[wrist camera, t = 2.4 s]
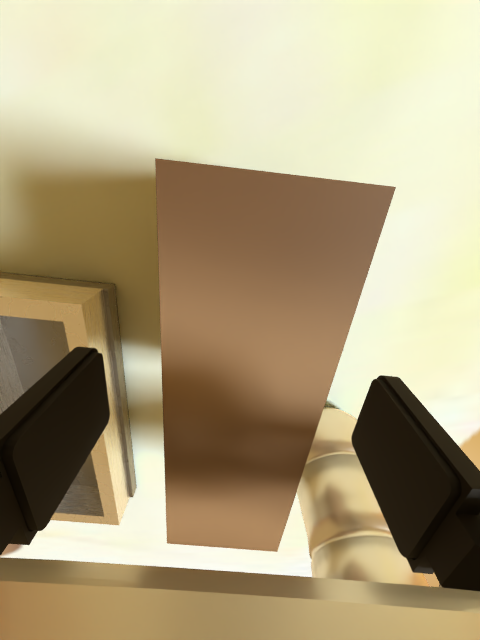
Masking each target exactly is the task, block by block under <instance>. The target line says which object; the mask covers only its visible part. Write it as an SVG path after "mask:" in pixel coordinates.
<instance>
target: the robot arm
mask: <svg viewBox="0 0 480 640" xmlns="http://www.w3.org/2000/svg"><path fill="white" fill-rule="evenodd" d="M109 418H110V409H109V401H108V393H107V385H106V377H105V369H104V360H103V355H102V353H98V350H97V349H96V348H89V347H76V348H74V349H73V350H72V351H71V352H70V353H68V354H67V355H66V356H65V357H64V358H63V359H62V360H61V361H60V362H58V363H57V364H56V365H55V366H54V367H53V368H52V369H51V370H49V371H48V372H47V373H46V374H45V375H44V376H43V377H42V378H41V379H39V380H38V381H37V382H36V383H35V384H34V385H33V386H32V387H30V388H29V389H28V390H27V391H26V392H25V393H24V394H23V395H21V396H20V397H19V398H18V399H17V400H16V401H15V402H14V403H13V404H11V405H10V406H9V407H8V408H7V409H6V410H5V411H4V412H2V413H1V414H0V555H1V554H2V552H3V551H4V549H5V548H6V546H7V545H8V544H22V545H29V544H30V543H31V541H32V539H33V538H34V536H35V535H36V533H37V531H41V530H43V529H44V528H45V527H46V526H47V524H48V523H49V521H50V519H51V518H52V516H53V514H54V513H55V511H56V509H57V508H58V506H59V504H60V503H61V501H62V499H63V498H64V496H65V494H66V493H67V491H68V489H69V488H70V486H71V484H72V483H73V481H74V479H75V478H76V476H77V474H78V473H79V471H80V469H81V468H82V466H83V464H84V463H85V461H86V459H87V458H88V456H89V454H90V453H91V451H92V449H93V448H94V446H95V444H96V443H97V441H98V439H99V438H100V436H101V434H102V433H103V431H104V429H105V428H106V426H107V424H108V422H109ZM351 440H352V445H353V448H354V450H355V452H356V455H357V457H358V459H359V462H360V464H361V466H362V468H363V471H364V473H365V475H366V478H367V480H368V482H369V484H370V487H371V489H372V491H373V494H374V496H375V498H376V500H377V503H378V505H379V507H380V510H381V512H382V514H383V516H384V519H385V521H386V523H387V525H388V528H389V530H390V532H391V535H392V537H393V539H394V541H395V544H396V546H397V548H398V550H399V552H400V554H401V555H402V556H403V557H404V558H406V559H407V561H408V563H409V565H410V567H411V570H412V572H413V573H428V574H433V573H435V575H436V577H437V579H438V581H439V583H440V585H439V587H430V586H419V585H406V584H393V583H380V582H367V581H353V580H340V579H327V578H314V577H300V576H286V575H272V574H258V573H244V572H230V571H215V570H201V569H187V568H172V567H156V566H141V565H125V564H110V563H94V562H79V561H63V560H43V559H20V558H0V640H480V471H479V470H478V468H477V467H476V466H475V465H474V464H473V463H472V461H471V460H470V459H469V458H468V457H467V456H466V455H465V453H464V452H463V451H462V450H461V449H460V448H459V446H458V445H457V444H456V443H455V442H454V441H453V439H452V438H451V437H450V436H449V435H448V434H447V432H446V431H445V430H444V429H443V428H442V427H441V426H440V424H439V423H438V422H437V421H436V420H435V419H434V417H433V416H432V415H431V414H430V413H429V412H428V410H427V409H426V408H425V407H424V406H423V405H422V403H421V402H420V401H419V400H418V399H417V398H416V397H415V395H414V394H413V393H412V392H411V391H410V390H409V388H408V387H407V386H406V385H405V384H404V383H403V381H402V380H401V379H400V378H398V377H392V376H382V375H381V376H379V377H378V378H377V379H374V380H373V381H372V383H371V386H370V388H369V391H368V393H367V396H366V399H365V401H364V404H363V407H362V409H361V412H360V415H359V417H358V420H357V423H356V425H355V428H354V430H353V433H352V438H351Z"/></svg>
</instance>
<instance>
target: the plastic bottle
mask: <svg viewBox="0 0 480 640" xmlns="http://www.w3.org/2000/svg"><path fill="white" fill-rule="evenodd" d="M356 423H357V419H356V418H355V417H353V416H352V415H350V414H348V413H346V412H344V411H342V410H339V409H335V408H328V407H324V409H323V412H322V415H321V418H320V421H319V424H318V427H317V430H316V434H315V437H314V440H313V443H312V446H311V449H310V452H309V455H308V458H307V461H306V464H305V467H304V470H303V473H302V476H301V480H300V483H299V486H298V489H297V495H298V499H299V503H300V507H301V511H302V516H303V520H304V524H305V528H306V532H307V537H308V545H309V553H310V557H311V559H312V562H311V569H312V577H314V578H327V579H340V580H353V581H367V582H380V583H393V584H406V585H419V586H429V584H428V582H427V580H426V578H425V576H424V574H423V573H413V572H412V570H411V567H410V565H409V563H408V561H407V559H406V558H404V557H403V556H402V555H401V554H400V552H399V550H398V548H397V546H396V544H395V541H394V539H393V537H392V535H391V532H390V530H389V528H388V525H387V523H386V521H385V519H384V516H383V514H382V512H381V510H380V507H379V505H378V503H377V500H376V498H375V496H374V494H373V491H372V489H371V487H370V484H369V482H368V480H367V478H366V475H365V473H364V471H363V468H362V466H361V464H360V462H359V459H358V457H357V455H356V452H355V450H354V448H353V445H352V440H351V438H352V433H353V430H354V428H355V425H356Z"/></svg>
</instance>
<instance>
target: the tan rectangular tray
mask: <svg viewBox="0 0 480 640" xmlns="http://www.w3.org/2000/svg"><path fill="white" fill-rule="evenodd" d="M76 347H89V348H96V349H97V350H98V353H102V355H103V360H104V369H105V377H106V385H107V393H108V401H109V409H110V418H109V422H108V424H107V426H106V428H105V429H104V431H103V433H102V434H101V436H100V438H99V439H98V441H97V443H96V444H95V446H94V448H93V449H92V451H91V453H90V454H89V456H88V458H87V459H86V461H85V463H84V464H83V466H82V468H81V469H80V471H79V473H78V474H77V476H76V478H75V479H74V481H73V483H72V484H71V486H70V488H69V489H68V491H67V493H66V494H65V496H64V498H63V499H62V501H61V503H60V504H59V506H58V508H57V509H56V511H55V513H54V514H53V516H52V518H51V519H50V520H59V521H72V522H85V523H98V524H110V525H120V522H121V519H122V517H123V514H124V511H125V509H126V506H127V503H128V500H129V498H130V497H133V495H134V493H135V490H136V478H135V469H134V460H133V450H132V441H131V432H130V422H129V413H128V404H127V395H126V385H125V376H124V367H123V358H122V348H121V339H120V330H119V321H118V311H117V302H116V293H115V284H107V283H97V282H88V281H78V280H69V279H59V278H49V277H40V276H30V275H21V274H11V273H2V272H0V414H1V413H2V412H4V411H5V410H6V409H7V408H8V407H9V406H10V405H11V404H13V403H14V402H15V401H16V400H17V399H18V398H19V397H20V396H21V395H23V394H24V393H25V392H26V391H27V390H28V389H29V388H30V387H32V386H33V385H34V384H35V383H36V382H37V381H38V380H39V379H41V378H42V377H43V376H44V375H45V374H46V373H47V372H48V371H49V370H51V369H52V368H53V367H54V366H55V365H56V364H57V363H58V362H60V361H61V360H62V359H63V358H64V357H65V356H66V355H67V354H68V353H70V352H71V351H72V350H73V349H74V348H76Z"/></svg>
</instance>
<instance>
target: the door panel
mask: <svg viewBox="0 0 480 640" xmlns="http://www.w3.org/2000/svg"><path fill="white" fill-rule="evenodd" d="M155 161H156V194H157V227H158V260H159V293H160V325H161V358H162V391H163V424H164V457H165V490H166V523H167V543H170V544H183V545H196V546H209V547H223V548H236V549H249V550H262V551H275V552H277V550H278V547H279V544H280V541H281V538H282V535H283V532H284V529H285V526H286V523H287V519H288V516H289V513H290V510H291V507H292V504H293V501H294V498H295V495H296V492H297V489H298V486H299V483H300V480H301V476H302V473H303V470H304V467H305V464H306V461H307V458H308V455H309V452H310V449H311V446H312V443H313V440H314V437H315V434H316V430H317V427H318V424H319V421H320V418H321V415H322V412H323V409H324V406H325V403H326V400H327V397H328V394H329V391H330V387H331V384H332V381H333V378H334V375H335V372H336V369H337V366H338V363H339V360H340V357H341V354H342V351H343V348H344V344H345V341H346V338H347V335H348V332H349V329H350V326H351V323H352V320H353V317H354V314H355V311H356V308H357V305H358V301H359V298H360V295H361V292H362V289H363V286H364V283H365V280H366V277H367V274H368V271H369V268H370V265H371V262H372V259H373V255H374V252H375V249H376V246H377V243H378V240H379V237H380V234H381V231H382V228H383V225H384V222H385V219H386V216H387V212H388V209H389V206H390V203H391V200H392V197H393V194H394V191H395V188H396V187H391V186H382V185H374V184H365V183H357V182H349V181H340V180H332V179H323V178H315V177H307V176H298V175H290V174H281V173H273V172H265V171H256V170H248V169H239V168H231V167H223V166H214V165H206V164H197V163H189V162H181V161H172V160H164V159H156V158H155Z"/></svg>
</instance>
